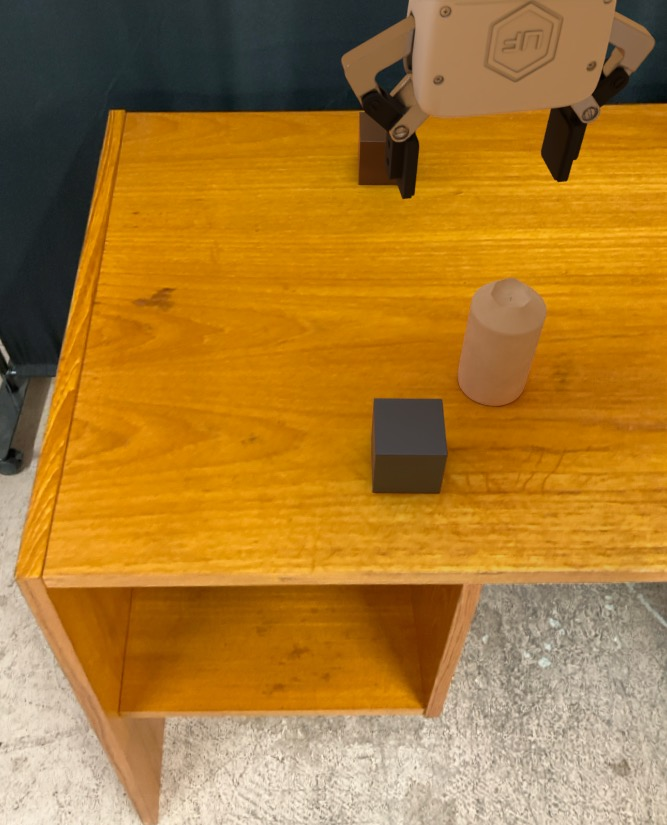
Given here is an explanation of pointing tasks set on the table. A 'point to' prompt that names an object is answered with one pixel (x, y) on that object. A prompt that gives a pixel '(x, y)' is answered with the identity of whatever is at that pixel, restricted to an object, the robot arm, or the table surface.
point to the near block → (408, 445)
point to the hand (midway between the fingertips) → (478, 176)
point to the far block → (372, 152)
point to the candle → (500, 341)
